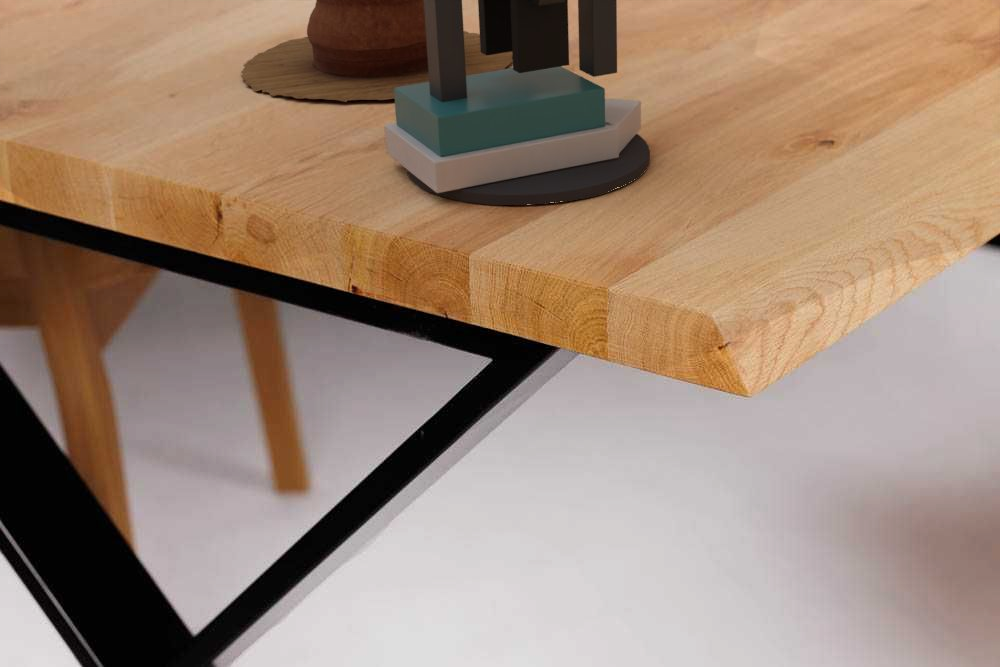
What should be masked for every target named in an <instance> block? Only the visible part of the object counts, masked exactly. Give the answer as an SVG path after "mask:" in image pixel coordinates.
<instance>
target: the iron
mask: <svg viewBox="0 0 1000 667" xmlns="http://www.w3.org/2000/svg"><path fill="white" fill-rule="evenodd" d="M617 4H618V3H617V0H577V14H578V18H577V19H578V63H579V64H578V66H579V69H578V70H579V71H580V72H583V73H585V74H587V75H589V76H591V77H593V78H595V77H600V76H601V77H602V76H607V75H613V74H617V73H618V9H617V8H618V7H617V6H618V5H617ZM424 10H425V25H426V40H427V55H428V70H429V82H425V83H419V84H413V85H407V86H401V87H395V88H394V109H395V120H396V122H392V123H391V122H390V123H385V124H384V125H383V126H384V140H385V151H386V155H388V156H389V157H390V158H391V159H393V160H394V161H395V162H397V163H398V165H401V166H402V167H403V168H405V169H406V171H407V170H408V171H410V172H411V173H412V174H413V175H415V176H416V177H417V178H418V179H420V180H421V181H422V182H424V183H425V184H426V185H427V186H429V187H430V188H431V189H432V190H434V191H435V192H436V193H441V192H446V191H452V190H457V189H462V188H467V187H472V186H477V185H482V184H487V183H492V182H497V181H502V180H508V179H513V178H518V177H523V176H528V175H533V174H538V173H543V172H548V171H553V170H559V169H564V168H569V167H574V166H579V165H584V164H589V163H594V162H599V161H604V160H610V159H615V158H619V153H620V152H621V151H622V150H623V149H624V147H625V146H626V145H627V144H628V143H629V142H630V141H631V140H632V138H633V137H634V136H635V135H636V134H638V133H639V132H640V131H641V129H642V101H641V100H636V99H635V100H634V99H621V98H619V99H618V98H606V89H605V87H603V86H601V85H599V84H597V83H595V82H593V81H591V80H589V79H587V78H585V77H583V76H581V75H579V74H577V73H575V72H573V71H571V70H569V69H567V68H565V67H564V66H560V67H554V68H548V69H542V70H536V71H530V72H524V73H518V72H516V71H515V70H513V67H511V68H505V69H504V70H498V71H492V72H486V73H480V74H473V75H467V76H466V66H465V48H464V31H465V30H464V16H463V15H464V14H463V12H464V11H463V0H424Z"/></svg>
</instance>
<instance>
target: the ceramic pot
mask: <svg viewBox="0 0 1000 667" xmlns="http://www.w3.org/2000/svg"><path fill="white" fill-rule="evenodd" d="M307 23H308V24H307V26H306V36H304V37H302V38H300V37H299V38H294V39H289V40H287V41H284V42H280V43H278V44H276V45H275V46H273V47H271V48H268V49H266V50H265V51H263V52H258V53H257V54H256V55H254V57H253V56H252V58H250V59H249V60H247V61H246V62H245V63H244V64H243V65H242V66H243V69H242V71H240V73H241V79H242V80H243V81H245V82H244V84H245V85H246V86H248V87H249V86H250V88H251V89H252V91H254V92H255V93H257V92H259V91H261V92H262V93H267V94H268V93H269V95H270V96H272V97H275V96H282V97H292V98H294V99H298V100H299V99H301V100H302V99H308V100H321V99H322V100H328V101H330V100H331V101H339V102H344V103H347V102H348V101H358V100H359V101H361V100H366V101H372V100H373V101H374V100H377V101H386V100H392V99H394V100H395V98H394V88H395V87H401V86H407V85H413V84H419V83H425V82H429V70H428V55H427V40H426V25H425V10H424V0H316V1H315V6H314V8H313V9H312V11H311V13H310V16H309V19H308V22H307ZM464 48H465V66H466V76H467V75H473V74H480V73H486V72H492V71H498V70H504V69H506V68H507V67H509V65H510V64H512V63H513V54H512V51H511V52H505V53H499V54H493V55H485V54H483V53H481V50H480V33H476V32H468V31H466V30H464Z"/></svg>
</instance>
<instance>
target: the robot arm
mask: <svg viewBox="0 0 1000 667" xmlns="http://www.w3.org/2000/svg"><path fill="white" fill-rule="evenodd" d="M477 2H478V3H477V7H478V10H477V11H478V25H479V26H478V27H479V35H480V50H481V53H483V54H485V55H493V54H499V53H505V52H511V51H512V54H513V57H512V68H513V70H515V71H516V72H518V73H524V72H530V71H536V70H542V69H548V68H554V67H560V66H561V67H567V66H569V65H570V42H569V41H570V40H569V0H477Z"/></svg>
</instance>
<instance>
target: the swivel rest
mask: <svg viewBox="0 0 1000 667" xmlns="http://www.w3.org/2000/svg"><path fill="white" fill-rule="evenodd" d="M649 161H651V150H650V146H649V144H648V143H647V141H646V140H645V139H644V138H643V137H642V136H641V135H640V134H638V133H637V134H636V135H635V136H634V137H633V138H632V140H631V141H630V142H629V143H628V144H627V145H626V146H625V147H624V149H623V150H622V151H621V152H620V153H619V158H615V159H610V160H604V161H599V162H594V163H589V164H584V165H579V166H574V167H569V168H564V169H559V170H553V171H548V172H543V173H538V174H533V175H528V176H523V177H518V178H513V179H508V180H502V181H497V182H492V183H487V184H482V185H477V186H472V187H467V188H462V189H457V190H452V191H446V192H441V193H436V192H435V191H434V190H432V189H431V188H430V187H429V186H427V185H426V184H425V183H424V182H422V181H421V180H420V179H418V178H417V177H416V176H415V175H413V174H412V173H411V172H410V171H408V170H407V169H406V173H407V176H408V178H409V179H410V181H411V182H413V183H414V185H416V186H417V187H419V189H422V190H424V191H426V192H428V193H430V194H433V195H435V196H439V197H441V198H446V199H449V200H454V201H458V202H463V203H469V204H478V205H486V206H487V205H489V206H503V205H526V206H528V205H527V204H544V205H546V204H545V203H550V202H554V203H555V202H560V201H563V203H566V202H565V201H570V202H573V201H572V200H576V201H578V200H577V199H581V200H586V199H590V198H594V197H593V196H595V197H598V196H597V195H599V196H601V195H600V194H602V195H604V194H603V193H605V194H607V193H606V192H608V191H611V190H613V189H615V188H617V187H621V186H623V185H625V184H628V183H629V182H631V181H633V180H634V179H636V178H638V177H639V176H640V175H641V174H642V173H643V172H644V171H645V170H646V169H648V168H649V166H650V162H649ZM647 167H648V168H647ZM646 171H647V170H646ZM646 171H645V172H646ZM641 176H642V175H641ZM641 176H640V177H641ZM640 177H639V178H640ZM639 178H638V179H639ZM636 180H637V179H636ZM633 182H634V181H633ZM628 185H629V184H628ZM589 197H590V198H589ZM585 198H586V199H585ZM555 204H556V203H555Z"/></svg>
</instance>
